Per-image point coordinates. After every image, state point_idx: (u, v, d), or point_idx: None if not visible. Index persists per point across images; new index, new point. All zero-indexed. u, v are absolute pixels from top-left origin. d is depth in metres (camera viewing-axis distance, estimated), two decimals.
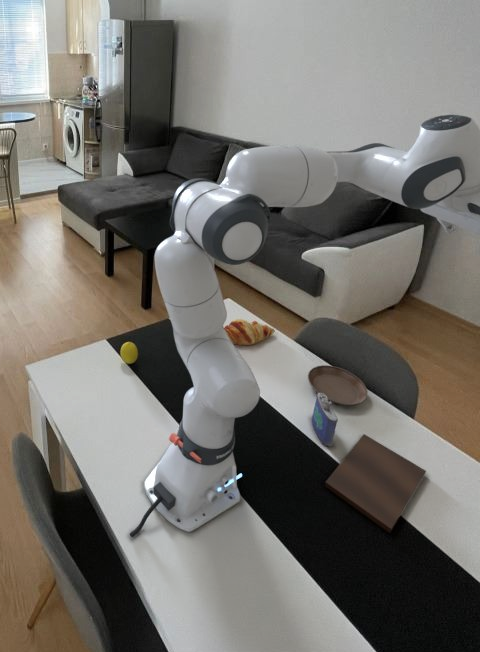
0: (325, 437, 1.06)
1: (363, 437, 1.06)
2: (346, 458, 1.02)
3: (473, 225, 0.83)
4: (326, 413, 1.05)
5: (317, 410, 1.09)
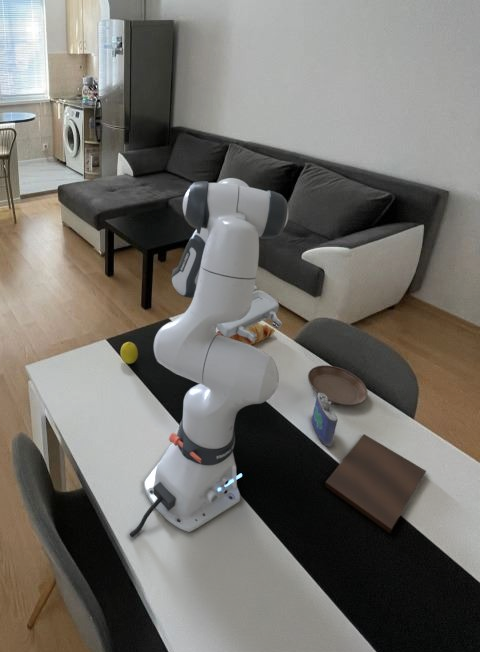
0: (325, 437, 1.06)
1: (363, 437, 1.06)
2: (346, 458, 1.02)
3: (256, 307, 1.23)
4: (326, 413, 1.05)
5: (317, 410, 1.09)
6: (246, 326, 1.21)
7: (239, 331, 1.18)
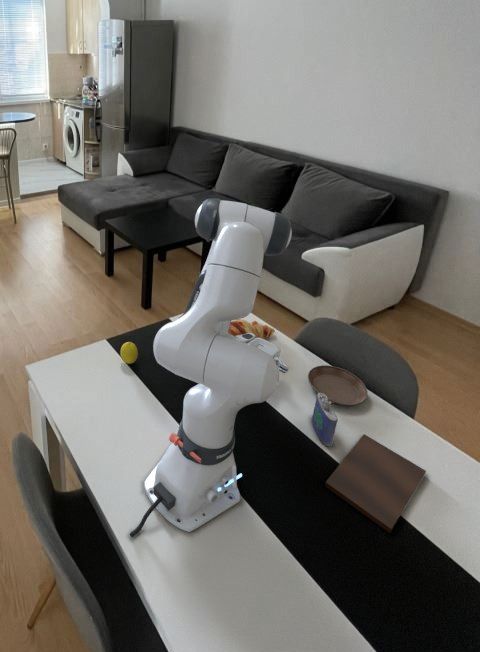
0: (325, 437, 1.06)
1: (363, 437, 1.06)
2: (346, 458, 1.02)
3: None
4: (326, 413, 1.05)
5: (317, 410, 1.09)
6: None
7: None
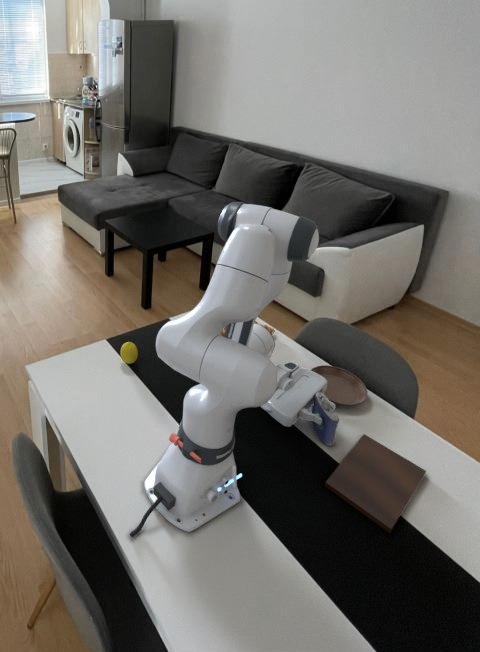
0: (327, 437, 1.06)
1: (363, 437, 1.06)
2: (346, 458, 1.02)
3: (307, 388, 1.13)
4: (327, 413, 1.05)
5: (316, 411, 1.09)
6: None
7: (303, 415, 1.07)
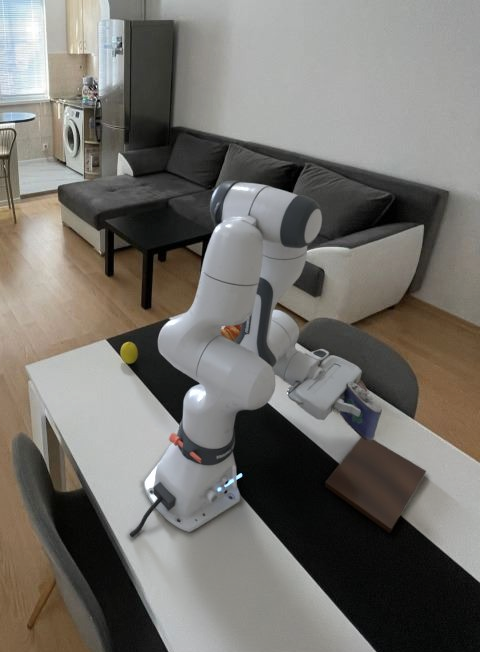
0: (368, 431, 0.95)
1: None
2: (346, 458, 1.02)
3: (340, 377, 1.03)
4: (368, 405, 0.94)
5: (351, 403, 0.98)
6: None
7: (339, 405, 0.97)
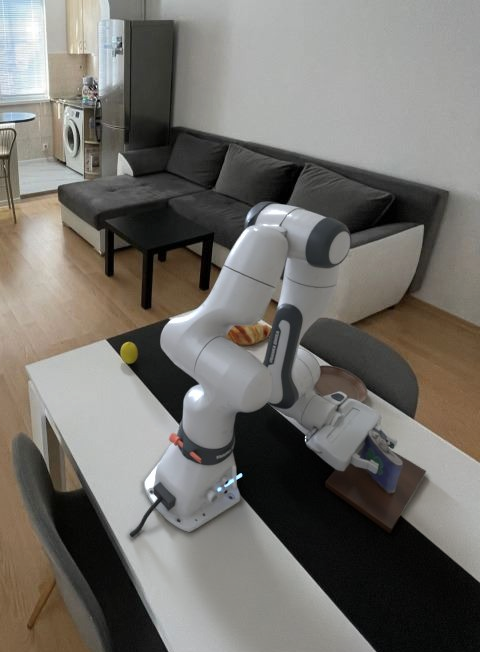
0: (389, 483, 0.93)
1: None
2: None
3: (359, 424, 1.00)
4: (388, 457, 0.92)
5: (372, 452, 0.96)
6: (356, 451, 0.97)
7: (355, 461, 0.93)
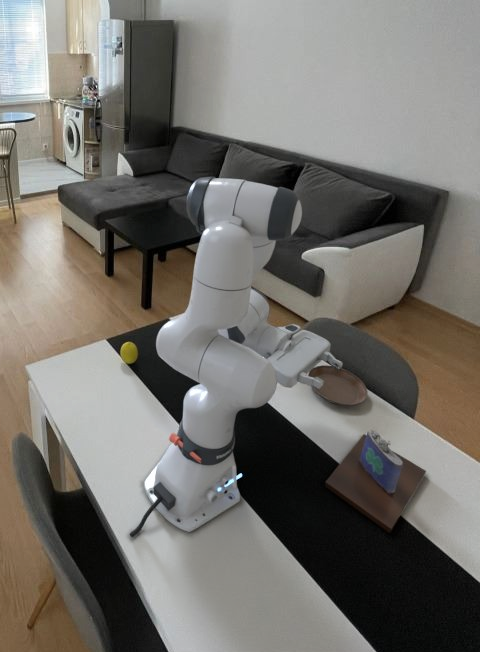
0: (389, 483, 0.93)
1: (363, 437, 1.06)
2: (346, 458, 1.02)
3: (309, 349, 1.07)
4: (388, 457, 0.92)
5: (372, 452, 0.96)
6: (304, 372, 1.04)
7: (301, 378, 1.00)
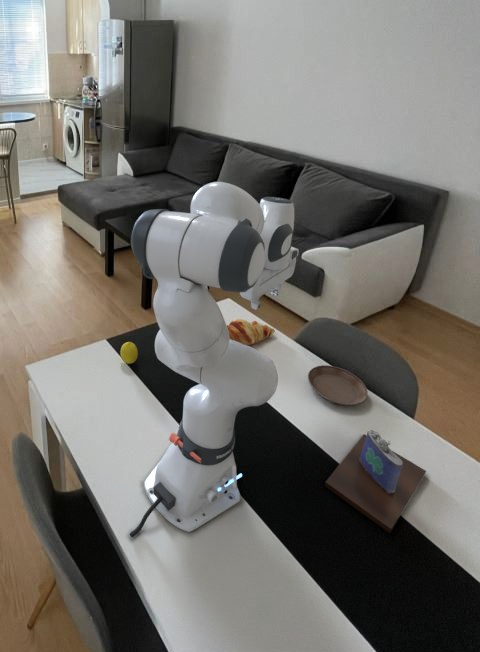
0: (389, 483, 0.93)
1: (363, 437, 1.06)
2: (346, 458, 1.02)
3: (280, 277, 1.13)
4: (388, 457, 0.92)
5: (372, 452, 0.96)
6: None
7: None
